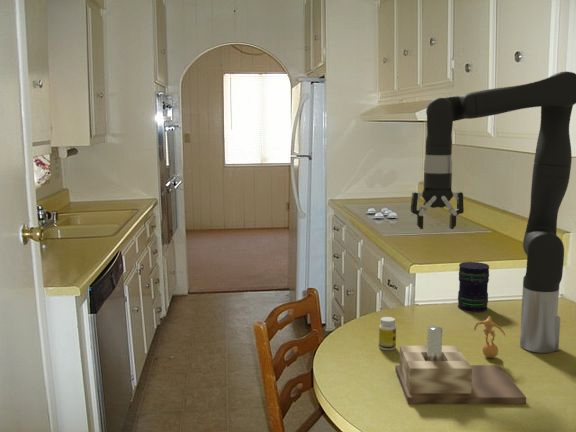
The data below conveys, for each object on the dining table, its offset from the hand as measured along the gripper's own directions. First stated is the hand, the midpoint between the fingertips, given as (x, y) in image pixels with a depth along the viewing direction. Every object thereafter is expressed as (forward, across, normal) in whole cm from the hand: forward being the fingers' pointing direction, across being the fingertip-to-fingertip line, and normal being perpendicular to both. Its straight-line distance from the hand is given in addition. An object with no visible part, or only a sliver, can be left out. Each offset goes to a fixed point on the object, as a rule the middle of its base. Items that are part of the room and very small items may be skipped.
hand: (436, 228), depth 166 cm
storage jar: (+33, +20, +31) cm, 50 cm away
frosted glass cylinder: (+32, -6, -30) cm, 44 cm away
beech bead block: (+32, -6, -30) cm, 44 cm away
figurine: (+33, +12, -13) cm, 38 cm away
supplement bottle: (+33, -14, -5) cm, 36 cm away
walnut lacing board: (+33, -1, -30) cm, 45 cm away
